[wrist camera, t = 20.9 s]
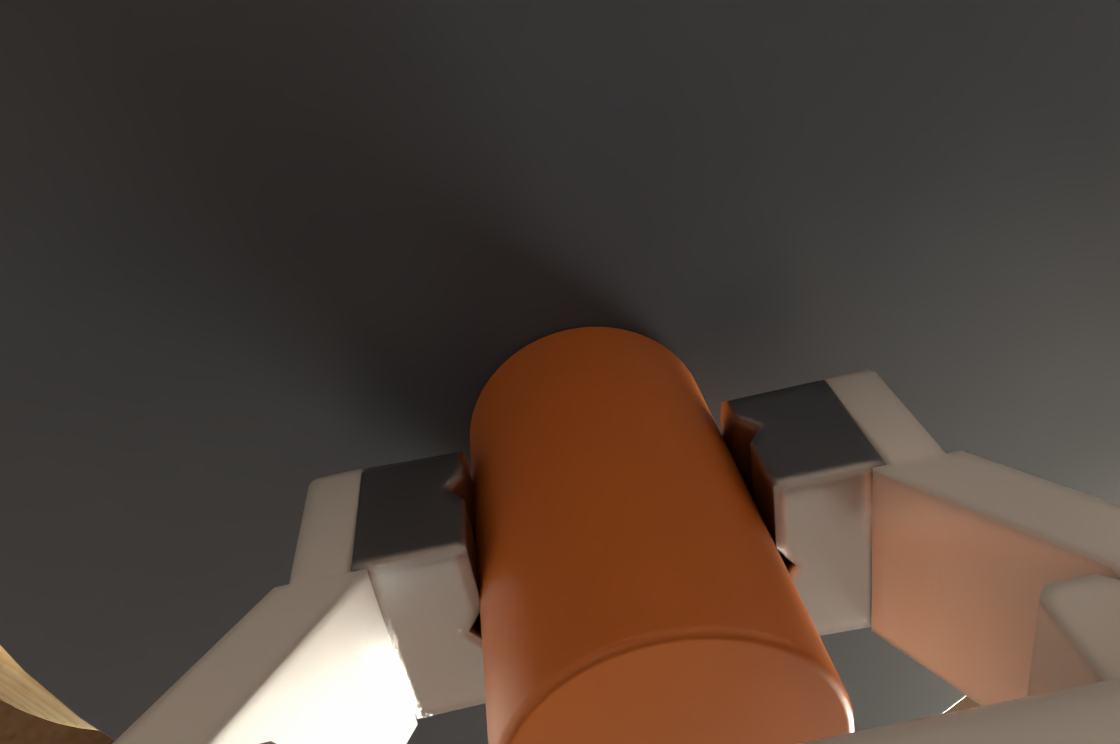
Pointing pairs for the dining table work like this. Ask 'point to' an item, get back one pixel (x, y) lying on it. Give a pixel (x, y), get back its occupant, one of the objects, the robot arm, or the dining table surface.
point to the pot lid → (530, 318)
